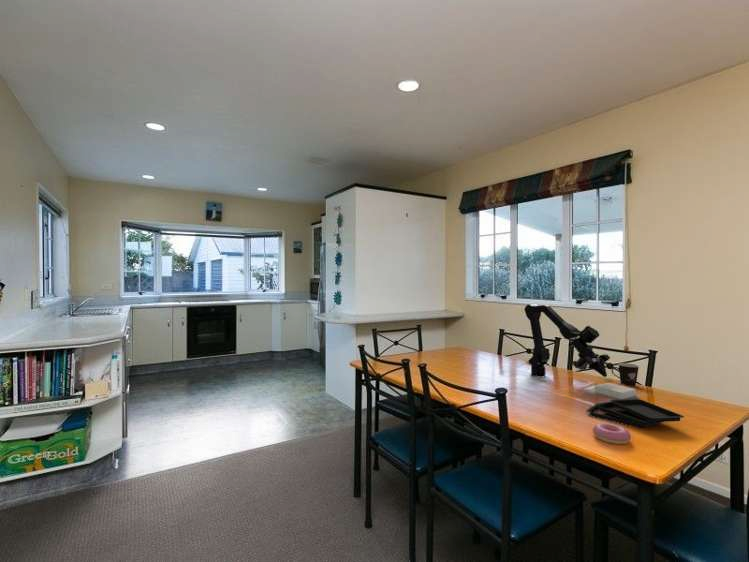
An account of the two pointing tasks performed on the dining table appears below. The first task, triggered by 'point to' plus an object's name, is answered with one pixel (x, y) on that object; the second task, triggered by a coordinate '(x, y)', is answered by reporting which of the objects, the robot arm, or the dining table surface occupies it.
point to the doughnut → (611, 433)
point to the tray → (634, 412)
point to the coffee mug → (627, 373)
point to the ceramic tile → (615, 390)
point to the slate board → (608, 396)
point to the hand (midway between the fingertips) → (605, 376)
